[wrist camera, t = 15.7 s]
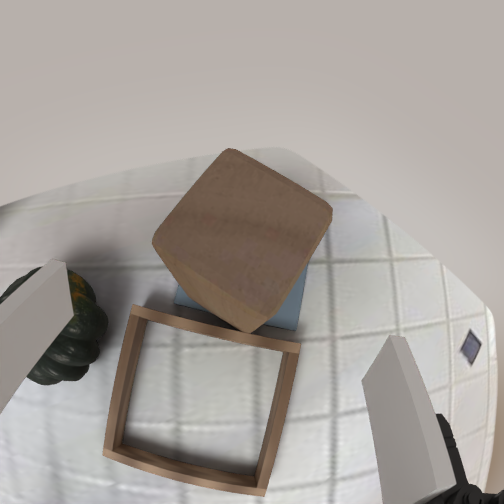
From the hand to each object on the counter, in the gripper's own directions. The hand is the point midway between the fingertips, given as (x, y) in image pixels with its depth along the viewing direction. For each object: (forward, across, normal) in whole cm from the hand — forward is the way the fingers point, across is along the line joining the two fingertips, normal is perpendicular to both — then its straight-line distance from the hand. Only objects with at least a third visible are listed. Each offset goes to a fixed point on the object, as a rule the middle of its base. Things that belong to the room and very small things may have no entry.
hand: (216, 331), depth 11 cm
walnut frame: (+14, -2, -26) cm, 29 cm away
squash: (+17, -22, -23) cm, 36 cm away
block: (+25, 0, -14) cm, 29 cm away
